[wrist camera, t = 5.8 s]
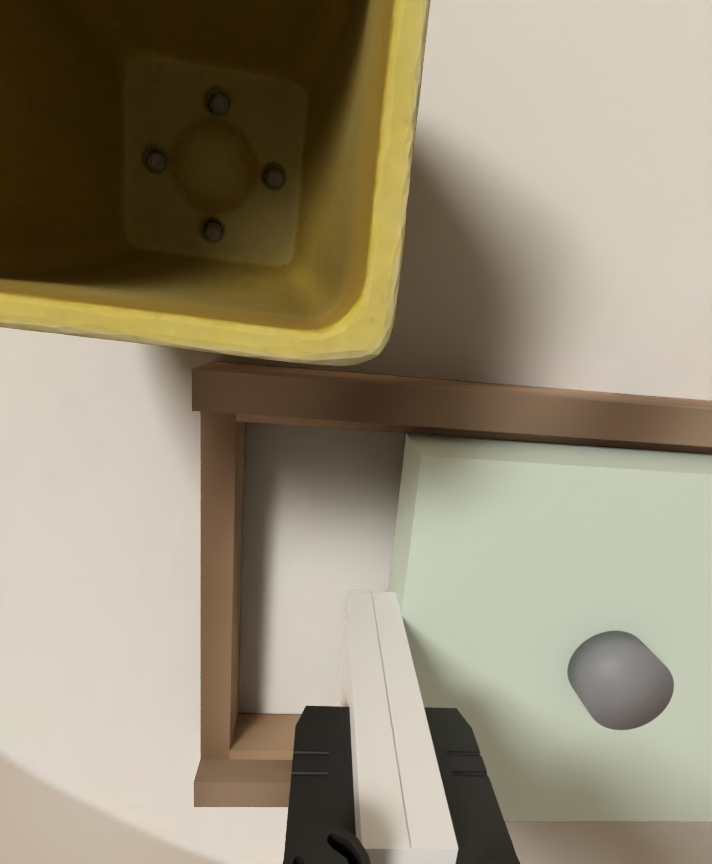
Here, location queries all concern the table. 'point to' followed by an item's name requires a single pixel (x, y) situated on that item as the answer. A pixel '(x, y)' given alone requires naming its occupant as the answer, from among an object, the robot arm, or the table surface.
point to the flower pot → (208, 171)
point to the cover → (565, 619)
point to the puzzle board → (364, 410)
